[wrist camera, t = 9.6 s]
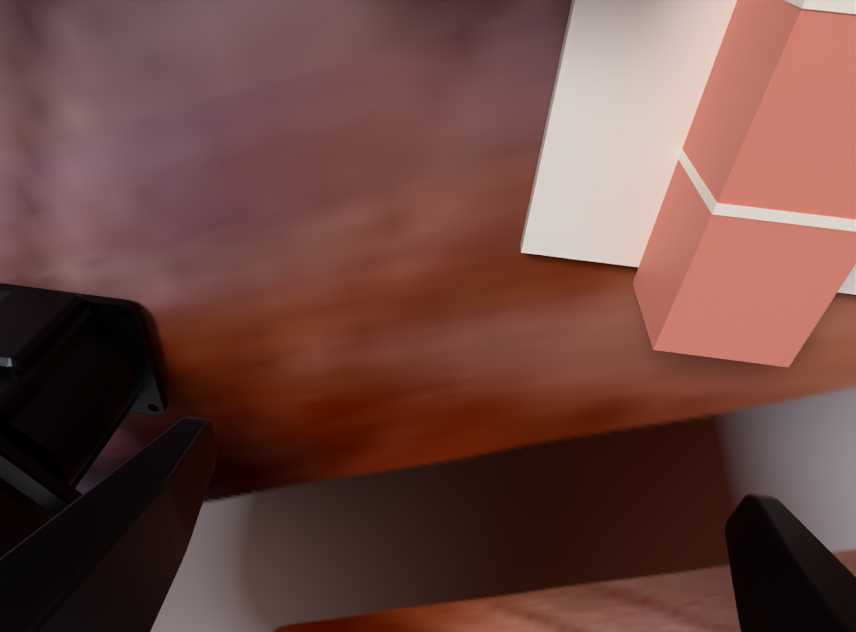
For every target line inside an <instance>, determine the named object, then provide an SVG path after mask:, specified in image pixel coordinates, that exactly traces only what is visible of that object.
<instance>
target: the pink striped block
mask: <svg viewBox="0 0 856 632" xmlns="http://www.w3.org/2000/svg"><path fill="white" fill-rule="evenodd" d="M855 264H856V0H737V2H736V5H735V7H734V10H733V13H732V16H731V18H730V21H729V24H728V26H727V29H726V32H725V35H724V37H723V40H722V43H721V45H720V48H719V51H718V54H717V56H716V59H715V62H714V64H713V67H712V70H711V72H710V75H709V78H708V81H707V83H706V86H705V89H704V91H703V94H702V97H701V100H700V102H699V105H698V108H697V110H696V113H695V116H694V119H693V121H692V124H691V127H690V129H689V132H688V135H687V137H686V140H685V143H684V146H683V148H682V149H681V152H680V155H679V157H678V162H677V165H676V167H675V170H674V173H673V175H672V178H671V181H670V184H669V186H668V189H667V192H666V194H665V197H664V200H663V202H662V205H661V208H660V211H659V213H658V216H657V219H656V221H655V224H654V227H653V230H652V232H651V235H650V238H649V240H648V243H647V246H646V249H645V251H644V254H643V257H642V259H641V262H640V265H639V267H638V270H637V273H636V276H635V278H634V281H633V287H634V290H635V293H636V297H637V300H638V303H639V306H640V309H641V312H642V316H643V319H644V322H645V325H646V328H647V332H648V335H649V338H650V341H651V344H652V347H653V350H658V351H666V352H674V353H681V354H689V355H697V356H704V357H712V358H720V359H728V360H735V361H743V362H751V363H758V364H766V365H774V366H782V367H789V366H790V365H791V363H792V362H793V360H794V358H795V357H796V355H797V354H798V352H799V351H800V349H801V348H802V346H803V345H804V343H805V341H806V340H807V338H808V337H809V335H810V334H811V332H812V331H813V329H814V328H815V326H816V324H817V323H818V321H819V320H820V318H821V317H822V315H823V314H824V312H825V311H826V309H827V307H828V306H829V304H830V303H831V301H832V300H833V298H834V297H835V295H836V294H837V292H838V290H839V289H840V287H841V286H842V284H843V283H844V281H845V280H846V278H847V277H848V275H849V273H850V272H851V270H852V269H853V267H854V266H855Z"/></svg>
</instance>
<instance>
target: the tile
mask: <svg viewBox="0 0 856 632" xmlns="http://www.w3.org/2000/svg"><path fill="white" fill-rule="evenodd" d="M736 2H737V0H572V3H571V7H570V12H569V17H568V22H567V26H566V31H565V36H564V41H563V45H562V50H561V55H560V59H559V64H558V69H557V74H556V78H555V83H554V88H553V93H552V97H551V102H550V107H549V112H548V116H547V121H546V126H545V130H544V135H543V140H542V145H541V149H540V154H539V159H538V164H537V168H536V173H535V178H534V183H533V187H532V192H531V197H530V201H529V206H528V211H527V216H526V220H525V225H524V230H523V235H522V239H521V253H528V254H536V255H544V256H552V257H560V258H568V259H576V260H584V261H592V262H600V263H608V264H616V265H624V266H631V267H639V265H640V262H641V259H642V257H643V254H644V251H645V249H646V246H647V243H648V240H649V238H650V235H651V232H652V230H653V227H654V224H655V221H656V219H657V216H658V213H659V211H660V208H661V205H662V202H663V200H664V197H665V194H666V192H667V189H668V186H669V184H670V181H671V178H672V175H673V173H674V170H675V167H676V165H677V162H678V157H679V155H680V152H681V149H682V148H683V146H684V143H685V140H686V137H687V135H688V132H689V129H690V127H691V124H692V121H693V119H694V116H695V113H696V110H697V108H698V105H699V102H700V100H701V97H702V94H703V91H704V89H705V86H706V83H707V81H708V78H709V75H710V72H711V70H712V67H713V64H714V62H715V59H716V56H717V54H718V51H719V48H720V45H721V43H722V40H723V37H724V35H725V32H726V29H727V26H728V24H729V21H730V18H731V16H732V13H733V10H734V7H735V5H736ZM838 293H846V294H854V295H856V264H855V266H854V267H853V269H852V270H851V272H850V273H849V275H848V277H847V278H846V280H845V281H844V283H843V284H842V286H841V287H840V289H839V290H838Z"/></svg>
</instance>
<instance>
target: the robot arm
mask: <svg viewBox="0 0 856 632" xmlns="http://www.w3.org/2000/svg"><path fill="white" fill-rule="evenodd" d="M125 311H126V312H127V313H128V314H127V313H126V312H125ZM167 406H168V403H167V399H166V396H165V392H164V389H163V385H162V382H161V378H160V375H159V372H158V368H157V365H156V361H155V358H154V354H153V351H152V347H151V344H150V340H149V337H148V334H147V330H146V327H145V323H144V320H143V316H142V313H141V310H140V308H139V307H138V306H137V305H136V304H135V303H133V302H131V301H128V300H123V299H115V298H108V297H100V296H93V295H85V294H77V293H70V292H62V291H55V290H47V289H39V288H32V287H24V286H16V285H9V284H1V283H0V632H150V631H151V629H152V626H153V624H154V622H155V620H156V617H157V615H158V613H159V611H160V609H161V606H162V604H163V602H164V600H165V597H166V595H167V593H168V591H169V589H170V587H171V584H172V582H173V580H174V578H175V575H176V573H177V571H178V569H179V567H180V565H181V562H182V560H183V557H184V555H185V552H186V550H187V548H188V545H189V542H190V539H191V536H192V533H193V530H194V527H195V524H196V521H197V518H198V515H199V512H200V509H201V506H202V503H203V500H204V497H205V494H206V490H207V487H208V484H209V481H210V478H211V475H212V472H213V469H214V466H215V462H216V457H217V449H216V443H215V438H214V432H213V427H212V423H211V422H210V420H209V419H205V418H198V417H191V416H189V417H184V418H182V419H180V420H179V421H178V422H176V423H175V424H174V425H173V426H171V427H170V428H169V429H167V430H166V431H165V432H163V433H162V434H161V435H160V436H158V437H157V438H156V439H154V440H153V441H152V442H151V443H149V444H148V445H147V446H145V447H144V448H143V449H141V450H140V451H139V452H138V453H136V454H135V455H134V456H132V457H131V458H130V459H128V460H127V461H126V462H125V463H123V464H122V465H121V466H119V467H118V468H117V469H116V470H114V471H113V472H112V473H110V474H109V475H108V476H106V477H105V478H104V479H103V480H101V481H100V482H99V483H97V484H96V485H95V486H94V487H92V488H91V489H90V490H88V491H87V492H86V493H84V494H81V493H80V492H79V491H77V490H76V489H75V488H76V487H77V485H78V484H79V483H80V481H81V480H82V478H83V477H84V475H85V474H86V473H87V471H88V470H89V468H90V467H91V465H92V464H93V463H94V461H95V460H96V458H97V457H98V455H99V454H100V453H101V451H102V450H103V448H104V447H105V445H106V444H107V442H108V441H109V440H110V438H111V437H112V435H113V434H114V432H115V431H116V430H117V428H118V427H119V425H120V424H121V422H122V421H123V420H124V418H125V417H126V415H127V414H128V412H136V413H143V414H151V415H161V414H163V412H164V411H165V409H166V408H167ZM725 538H726V544H727V551H728V557H729V563H730V569H731V576H732V582H733V588H734V594H735V601H736V607H737V613H738V618H739V623H740V628H741V632H856V577H855V576H854V575H853V574H852V573H851V572H850V571H849V570H848V569H847V568H846V567H845V566H844V565H843V564H842V563H841V562H840V561H839V560H838V559H837V558H836V557H835V556H834V555H833V554H832V553H831V552H830V551H829V550H828V549H827V548H826V547H825V546H824V545H823V544H822V543H821V542H820V541H819V540H818V539H817V538H816V537H815V536H814V535H813V534H812V533H811V532H810V531H809V530H808V529H807V528H806V527H805V526H804V525H803V524H802V523H801V522H800V521H799V520H798V519H797V518H796V517H795V516H794V515H793V514H792V513H791V512H790V511H789V510H788V509H787V508H786V507H785V506H784V505H783V504H782V503H781V502H780V501H779V500H777V499H776V498H774V497H772V496H767V495H759V494H748V495H746V496H745V497H744V498H743V499H742V501H741V502H740V503H739V505H738V506H737V507H736V509H735V510H734V511H733V513H732V514H731V515H730V517H729V518H728V520H727V522H726V525H725Z"/></svg>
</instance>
